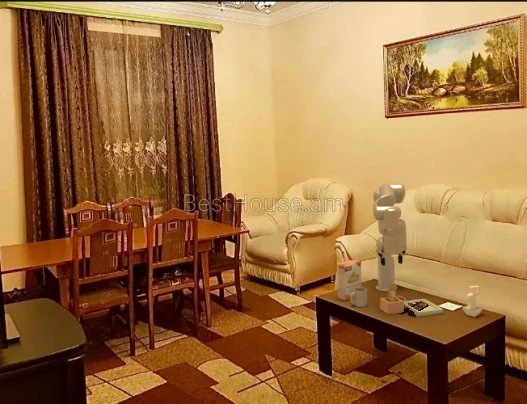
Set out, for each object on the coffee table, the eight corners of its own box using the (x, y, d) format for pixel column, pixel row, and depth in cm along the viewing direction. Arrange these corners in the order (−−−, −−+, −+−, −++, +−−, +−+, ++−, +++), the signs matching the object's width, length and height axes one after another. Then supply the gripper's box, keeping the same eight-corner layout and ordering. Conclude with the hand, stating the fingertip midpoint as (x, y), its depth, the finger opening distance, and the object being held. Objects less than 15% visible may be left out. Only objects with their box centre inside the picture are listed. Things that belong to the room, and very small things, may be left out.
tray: (401, 306, 277) (401, 301, 277) (424, 303, 280) (424, 298, 280) (418, 317, 260) (418, 312, 260) (443, 313, 263) (443, 309, 263)
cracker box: (345, 301, 288) (344, 265, 286) (337, 299, 293) (336, 263, 290) (361, 295, 297) (361, 260, 294) (354, 293, 302) (353, 259, 299)
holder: (380, 308, 274) (380, 298, 273) (395, 307, 276) (395, 296, 275) (388, 314, 265) (388, 303, 264) (403, 312, 267) (403, 301, 267)
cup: (369, 305, 280) (369, 290, 279) (353, 308, 276) (353, 292, 275) (362, 302, 286) (362, 286, 285) (346, 304, 283) (346, 289, 282)
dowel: (386, 309, 272) (386, 284, 270) (393, 309, 273) (393, 283, 271) (390, 312, 268) (390, 286, 266) (397, 311, 269) (397, 285, 267)
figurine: (461, 315, 260) (461, 286, 258) (470, 310, 266) (471, 282, 264) (474, 318, 254) (474, 289, 252) (484, 314, 260) (484, 285, 258)
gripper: (379, 234, 260) (379, 267, 261) (410, 231, 263) (410, 264, 265) (372, 232, 267) (373, 264, 269) (403, 229, 271) (403, 261, 273)
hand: (391, 264), depth 267 cm, fingers open, 9 cm apart
